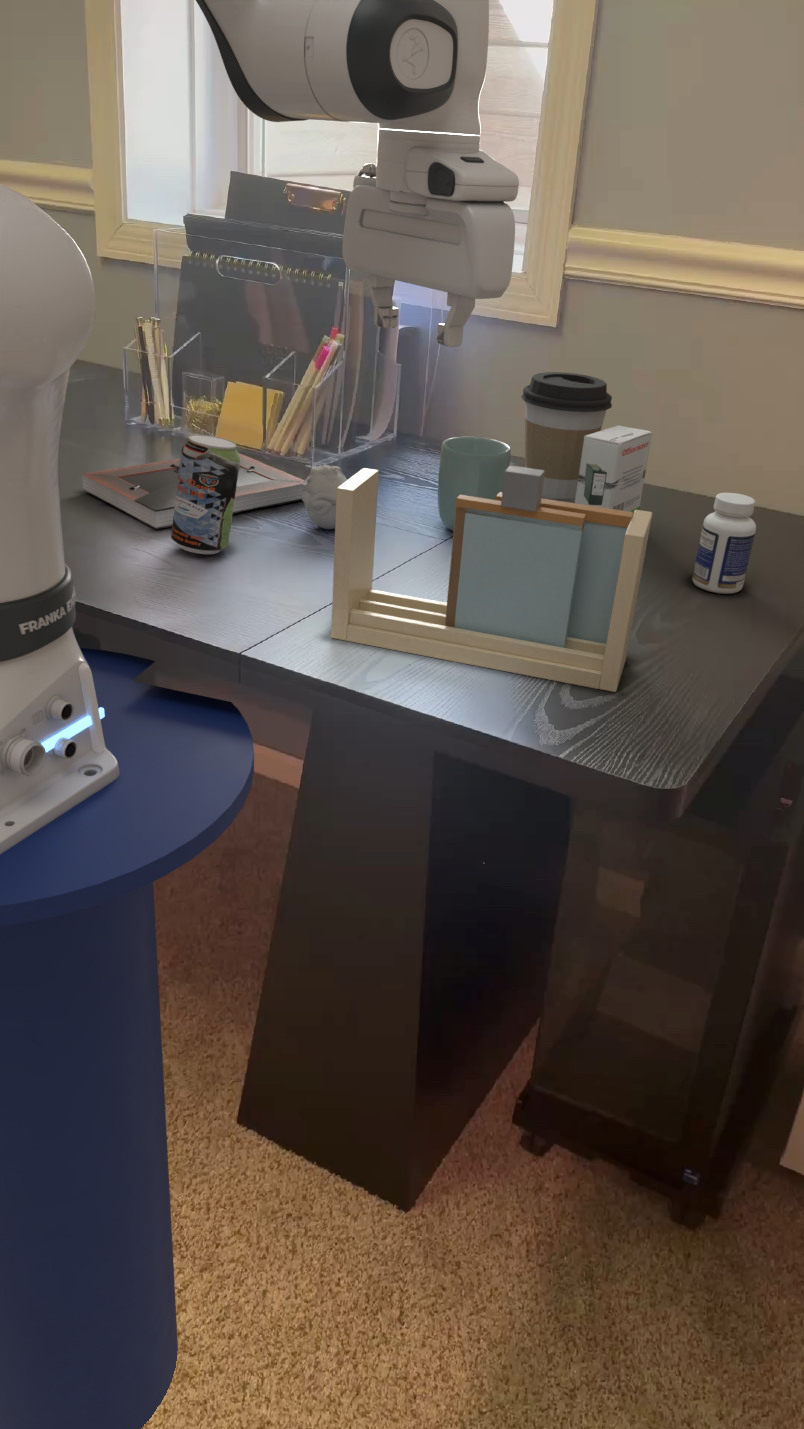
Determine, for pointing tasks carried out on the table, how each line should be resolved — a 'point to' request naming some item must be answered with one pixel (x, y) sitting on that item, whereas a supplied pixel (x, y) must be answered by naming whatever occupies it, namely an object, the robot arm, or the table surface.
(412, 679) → the table surface
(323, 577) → the table surface
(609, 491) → the ink box
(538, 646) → the window frame
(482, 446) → the cup
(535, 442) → the coffee cup
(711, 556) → the pill bottle
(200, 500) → the beverage can
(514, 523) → the window pane
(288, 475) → the picture frame
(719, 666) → the table surface
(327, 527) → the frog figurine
